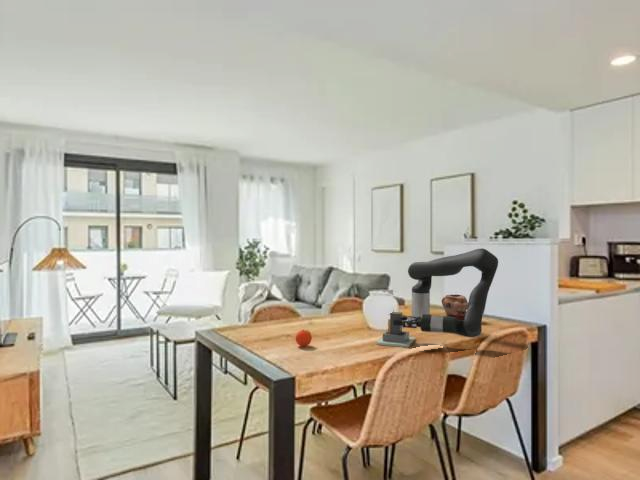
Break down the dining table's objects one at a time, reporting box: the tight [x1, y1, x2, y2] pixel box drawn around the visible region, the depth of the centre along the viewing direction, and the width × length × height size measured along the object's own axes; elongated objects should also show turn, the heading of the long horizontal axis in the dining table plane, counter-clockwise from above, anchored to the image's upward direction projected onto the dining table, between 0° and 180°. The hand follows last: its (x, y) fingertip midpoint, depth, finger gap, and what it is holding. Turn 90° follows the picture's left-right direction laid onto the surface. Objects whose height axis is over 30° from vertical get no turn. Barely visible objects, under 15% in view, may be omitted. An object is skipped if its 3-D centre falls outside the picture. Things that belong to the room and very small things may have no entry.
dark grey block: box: [387, 311, 403, 335], centre depth 204 cm, size 4×6×12 cm
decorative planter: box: [441, 294, 469, 321], centre depth 257 cm, size 20×12×14 cm, turn 32°
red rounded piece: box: [295, 329, 312, 347], centre depth 196 cm, size 8×7×7 cm
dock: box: [375, 329, 416, 348], centre depth 204 cm, size 16×14×4 cm
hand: (395, 320), depth 204 cm, fingers open, 8 cm apart
